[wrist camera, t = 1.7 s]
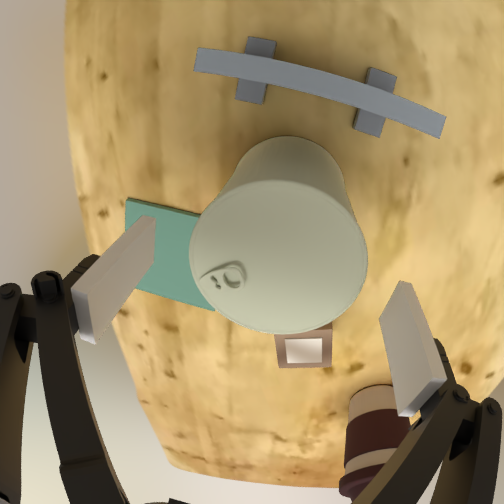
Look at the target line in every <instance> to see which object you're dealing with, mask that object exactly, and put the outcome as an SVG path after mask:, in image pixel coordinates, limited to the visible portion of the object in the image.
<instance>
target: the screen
mask: <svg viewBox="0 0 504 504" xmlns="http://www.w3.org/2000/svg"><path fill="white" fill-rule="evenodd" d="M276 45H277V42H276V41H272V40H266V39H261V38H255V37H249V36H248V40H247V44H246V49H245V53H244V54H242V53H236V52H229V51H222V50H215V49H206V48H198V50H197V55H196V60H195V66H194V71H195V72H203V73H210V74H217V75H224V76H230V77H236V78H239V81H238V86H237V91H236V96H235V99H236V100H241V101H246V102H251V103H256V104H261V105H262V104H263V102H264V97H265V93H266V88H267V84H272V85H276V86H281V87H285V88H289V89H293V90H297V91H301V92H305V93H309V94H313V95H317V96H320V97H324V98H327V99H331V100H334V101H338V102H341V103H344V104H347V105H351V106H354V107H357V108H358V110H357V114H356V118H355V121H354V125H353V128H354V129H355V130H358V131H361V132H364V133H367V134H370V135H373V136H376V137H378V138H380V135H381V131H382V128H383V125H384V122H385V118H389V119H391V120H394V121H397V122H399V123H402V124H404V125H407V126H409V127H412V128H414V129H417V130H419V131H422V132H424V133H426V134H429V135H431V136H433V137H436V138H438V139H440V136H441V132H442V129H443V126H444V123H445V120H446V116H443V115H441V114H439V113H437V112H435V111H433V110H430V109H428V108H426V107H424V106H421V105H419V104H417V103H414V102H412V101H409V100H407V99H404V98H402V97H399V96H397V95H394V94H393V90H394V86H395V82H396V79H397V77H396V76H394V75H391V74H389V73H386V72H383V71H380V70H378V69H375V68H372V67H371V68H369V69H368V73H367V77H366V81H365V84H364V83H361V82H358V81H354V80H351V79H348V78H345V77H342V76H338V75H335V74H331V73H328V72H324V71H321V70H317V69H313V68H309V67H305V66H301V65H297V64H293V63H289V62H284V61H279V60H275V59H273V58H274V53H275V49H276Z"/></svg>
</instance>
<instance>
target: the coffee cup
mask: <svg viewBox="0 0 504 504" xmlns="http://www.w3.org/2000/svg"><path fill="white" fill-rule="evenodd" d="M410 426H411V425H410V421H409V417H406V416H398V412H397V405H396V399H395V394H394V388H393V387H392V386H387V385H378V386H372V387H368V388H366V389H363V390H361V391H359V392H358V393H356V394H355V395H354V396H353V397H352V399H351V400H350V403H349V422H348V426H347V429H346V444H345V457H344V468H345V476H343V477H342V478H341V479H340V481H339V492H340V494H341V495H343V496H345V497H349V498H351V500H352V502H353V501H354V500H355V499H356V498H357V497H358V496H359V494H360V493H361V492H362V491H363V490H364V489H365V488H366V486H367V485H368V484H369V483H370V482H371V481H372V479H373V478H374V477H375V476H376V475H377V473H378V472H379V471H380V470H381V469H382V467H383V466H384V465H385V464H386V462H387V461H388V460H389V458H390V457H391V456H392V455H393V453H394V452H395V451H396V449H397V448H398V446H399V445H400V444H401V442H402V441H403V440H404V438H405V437H406V435H407V434H408V433H409V431H410V430H411V429H410V430H408V428H409V427H410Z"/></svg>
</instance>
